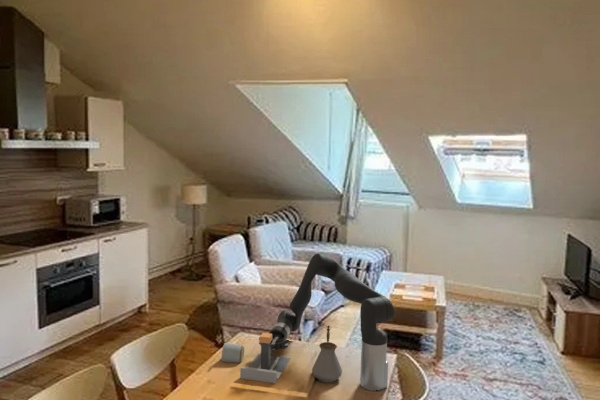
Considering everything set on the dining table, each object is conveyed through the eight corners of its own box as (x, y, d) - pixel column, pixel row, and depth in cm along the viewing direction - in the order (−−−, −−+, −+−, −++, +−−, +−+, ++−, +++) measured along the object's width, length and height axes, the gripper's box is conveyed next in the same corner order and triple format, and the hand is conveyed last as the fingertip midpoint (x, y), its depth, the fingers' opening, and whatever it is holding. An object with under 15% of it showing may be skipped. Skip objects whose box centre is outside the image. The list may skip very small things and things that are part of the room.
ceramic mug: (241, 366, 197) (241, 348, 196) (221, 365, 197) (221, 347, 197) (246, 355, 207) (246, 337, 207) (226, 354, 208) (226, 337, 207)
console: (257, 356, 206) (258, 344, 205) (290, 361, 203) (290, 348, 202) (239, 381, 185) (239, 368, 184) (275, 386, 182) (276, 373, 181)
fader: (262, 365, 195) (262, 332, 193) (271, 366, 194) (272, 333, 193) (259, 369, 191) (259, 336, 190) (268, 371, 190) (269, 337, 189)
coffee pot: (342, 385, 183) (343, 347, 182) (311, 384, 184) (312, 345, 182) (341, 360, 205) (342, 325, 203) (313, 359, 205) (314, 324, 204)
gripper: (264, 324, 211) (251, 339, 194) (294, 327, 208) (283, 343, 191) (264, 340, 212) (250, 358, 195) (294, 344, 209) (283, 362, 192)
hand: (267, 350), depth 193 cm, fingers closed
